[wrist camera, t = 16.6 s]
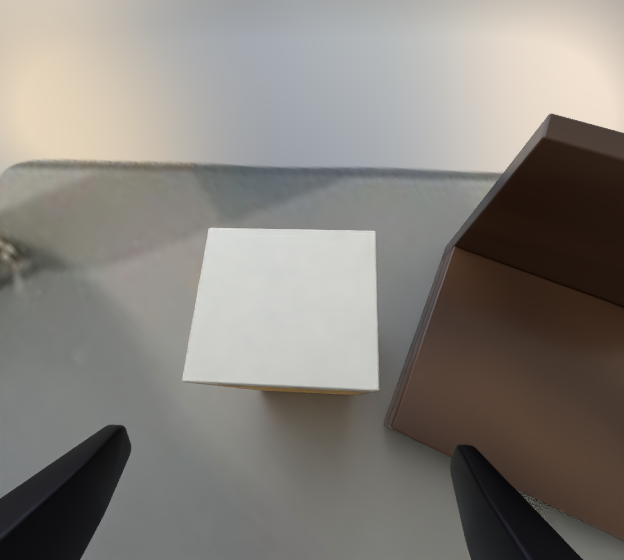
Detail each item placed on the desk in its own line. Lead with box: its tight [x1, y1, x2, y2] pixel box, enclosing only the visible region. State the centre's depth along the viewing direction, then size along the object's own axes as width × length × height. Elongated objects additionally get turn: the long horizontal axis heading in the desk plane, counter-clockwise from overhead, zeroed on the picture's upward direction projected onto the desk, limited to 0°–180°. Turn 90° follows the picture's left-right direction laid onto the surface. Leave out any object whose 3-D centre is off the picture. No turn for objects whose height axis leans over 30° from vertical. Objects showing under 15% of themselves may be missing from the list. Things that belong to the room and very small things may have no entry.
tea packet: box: [182, 228, 379, 395], centre depth 12 cm, size 4×4×9 cm
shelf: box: [384, 114, 624, 541], centre depth 11 cm, size 10×11×9 cm
